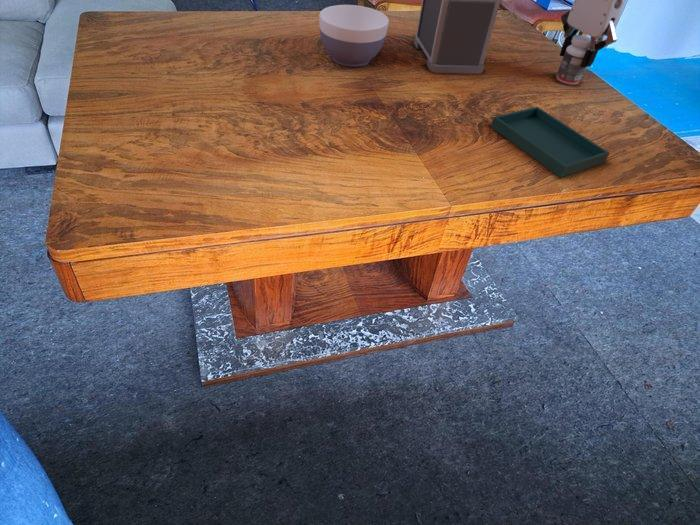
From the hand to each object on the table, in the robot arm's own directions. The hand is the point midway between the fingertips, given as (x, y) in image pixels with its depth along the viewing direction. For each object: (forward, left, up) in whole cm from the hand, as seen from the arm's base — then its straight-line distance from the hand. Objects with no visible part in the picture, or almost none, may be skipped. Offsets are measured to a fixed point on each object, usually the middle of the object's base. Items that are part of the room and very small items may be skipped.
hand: (575, 60), depth 120 cm
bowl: (+28, +45, -5) cm, 53 cm away
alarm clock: (+21, +21, -5) cm, 30 cm away
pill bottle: (0, 0, -5) cm, 5 cm away
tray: (-20, +28, -5) cm, 35 cm away
